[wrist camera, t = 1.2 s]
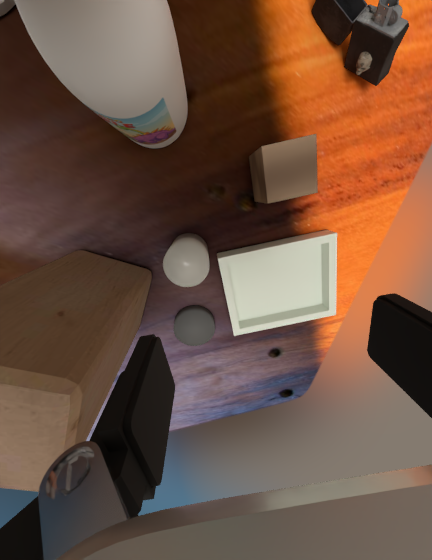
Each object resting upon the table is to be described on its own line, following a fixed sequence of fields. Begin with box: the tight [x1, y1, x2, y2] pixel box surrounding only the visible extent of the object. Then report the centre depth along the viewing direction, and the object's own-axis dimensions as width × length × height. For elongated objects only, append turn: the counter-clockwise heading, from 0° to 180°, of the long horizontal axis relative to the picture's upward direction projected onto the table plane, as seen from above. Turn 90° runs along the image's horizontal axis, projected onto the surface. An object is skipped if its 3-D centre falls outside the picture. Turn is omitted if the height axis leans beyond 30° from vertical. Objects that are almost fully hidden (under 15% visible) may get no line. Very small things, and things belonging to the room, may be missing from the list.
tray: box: [217, 230, 337, 336], centre depth 30 cm, size 12×15×2 cm
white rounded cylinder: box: [163, 233, 209, 287], centre depth 26 cm, size 5×5×6 cm
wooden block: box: [0, 250, 152, 492], centre depth 21 cm, size 10×10×20 cm
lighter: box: [312, 0, 409, 86], centre depth 20 cm, size 9×2×6 cm
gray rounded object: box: [174, 305, 215, 346], centre depth 32 cm, size 6×6×2 cm
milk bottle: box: [14, 0, 188, 149], centre depth 13 cm, size 8×8×20 cm
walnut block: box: [249, 134, 318, 204], centre depth 23 cm, size 5×5×6 cm
